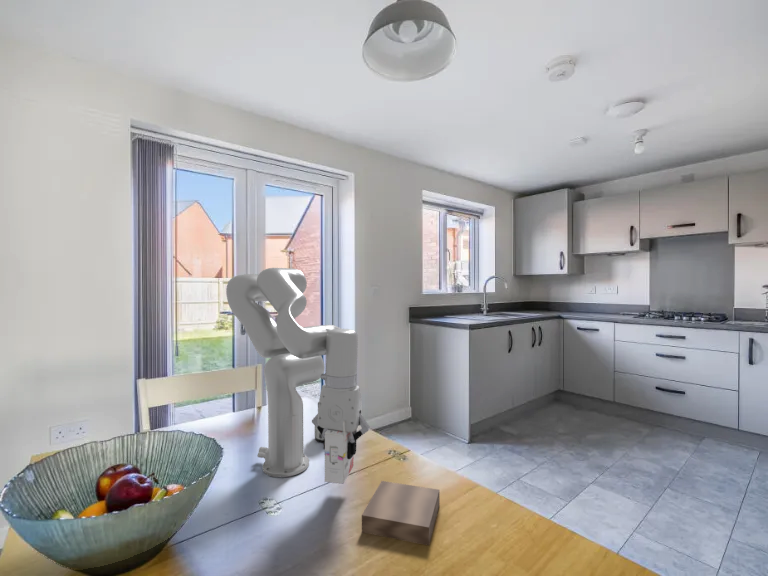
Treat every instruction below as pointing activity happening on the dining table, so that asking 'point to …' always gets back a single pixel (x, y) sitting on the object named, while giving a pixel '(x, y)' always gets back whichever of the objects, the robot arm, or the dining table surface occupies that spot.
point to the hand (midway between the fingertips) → (339, 453)
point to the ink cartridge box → (337, 456)
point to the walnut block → (402, 512)
